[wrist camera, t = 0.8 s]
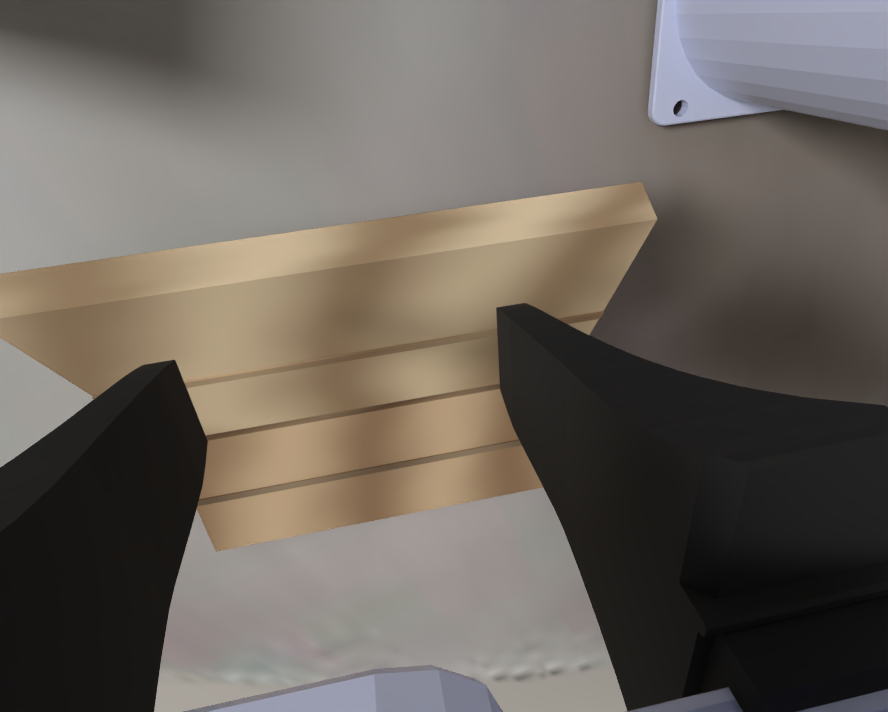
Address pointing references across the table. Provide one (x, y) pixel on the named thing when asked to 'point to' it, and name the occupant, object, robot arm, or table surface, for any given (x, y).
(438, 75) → the table surface
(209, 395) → the slatted wooden panel
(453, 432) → the laid floor strip
